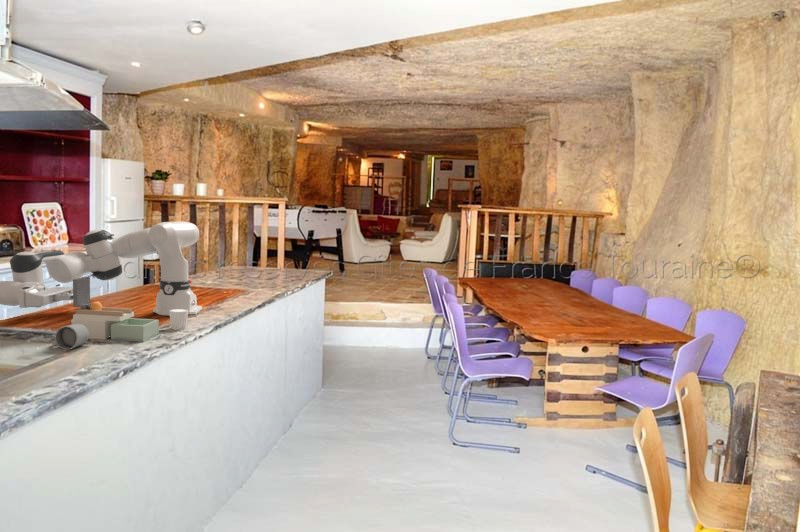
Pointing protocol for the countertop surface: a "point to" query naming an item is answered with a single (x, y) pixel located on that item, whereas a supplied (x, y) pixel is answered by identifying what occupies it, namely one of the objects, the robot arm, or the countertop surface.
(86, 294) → the gray upright panel
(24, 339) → the countertop surface
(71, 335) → the grey tipped cup
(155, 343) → the countertop surface
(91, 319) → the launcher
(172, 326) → the white tapered cup
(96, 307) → the ball
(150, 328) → the sage green tray
